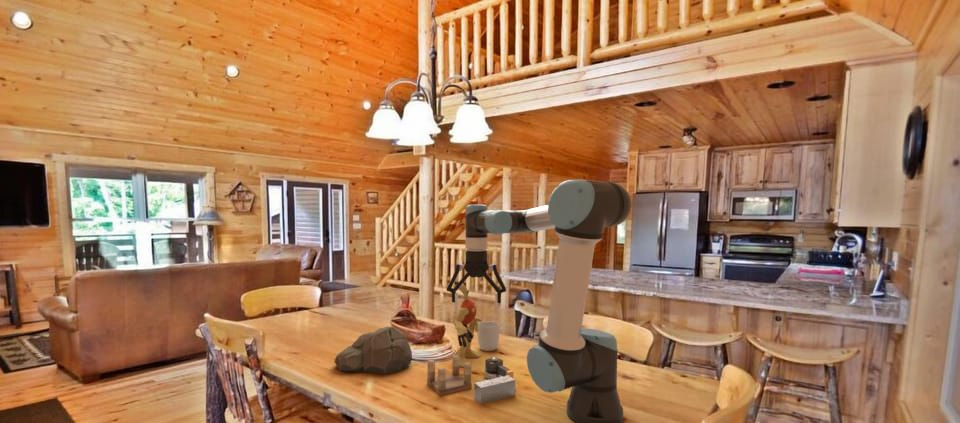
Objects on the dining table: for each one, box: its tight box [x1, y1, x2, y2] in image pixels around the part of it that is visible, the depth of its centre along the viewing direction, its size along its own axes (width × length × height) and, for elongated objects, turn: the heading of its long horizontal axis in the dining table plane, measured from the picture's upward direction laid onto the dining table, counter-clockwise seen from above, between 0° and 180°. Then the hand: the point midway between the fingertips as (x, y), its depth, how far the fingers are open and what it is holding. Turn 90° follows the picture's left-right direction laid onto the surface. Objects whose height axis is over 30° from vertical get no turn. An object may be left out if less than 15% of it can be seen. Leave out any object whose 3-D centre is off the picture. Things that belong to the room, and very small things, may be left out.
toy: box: [453, 281, 483, 368], centre depth 154 cm, size 23×9×30 cm, turn 168°
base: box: [484, 370, 503, 380], centre depth 142 cm, size 6×6×2 cm
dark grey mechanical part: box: [484, 356, 514, 379], centre depth 139 cm, size 13×6×4 cm, turn 31°
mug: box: [476, 320, 501, 352], centre depth 173 cm, size 13×9×10 cm
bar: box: [473, 375, 516, 405], centre depth 126 cm, size 4×12×5 cm, turn 119°
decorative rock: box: [334, 325, 413, 375], centre depth 153 cm, size 27×22×15 cm
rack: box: [426, 354, 473, 396], centre depth 134 cm, size 10×11×8 cm
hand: (476, 312), depth 142 cm, fingers open, 13 cm apart
